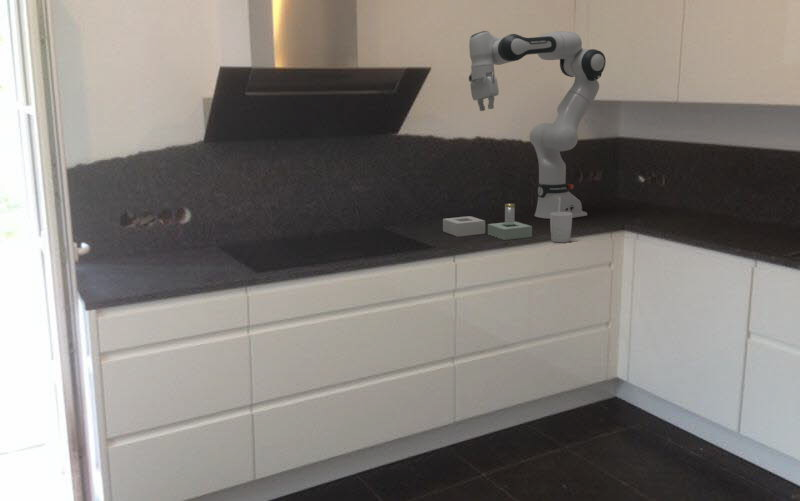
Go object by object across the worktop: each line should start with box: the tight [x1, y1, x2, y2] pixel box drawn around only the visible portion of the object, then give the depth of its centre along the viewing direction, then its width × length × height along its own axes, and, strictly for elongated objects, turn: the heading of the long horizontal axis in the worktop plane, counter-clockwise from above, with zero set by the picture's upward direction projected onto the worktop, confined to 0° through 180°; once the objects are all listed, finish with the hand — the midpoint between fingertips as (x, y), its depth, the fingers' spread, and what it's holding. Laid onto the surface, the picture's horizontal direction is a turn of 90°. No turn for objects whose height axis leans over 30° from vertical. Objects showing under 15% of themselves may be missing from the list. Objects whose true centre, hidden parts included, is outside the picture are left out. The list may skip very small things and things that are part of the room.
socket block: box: [487, 221, 533, 241], centre depth 280 cm, size 12×12×4 cm
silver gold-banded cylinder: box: [504, 202, 516, 227], centre depth 279 cm, size 4×4×12 cm
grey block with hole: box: [442, 215, 486, 238], centre depth 288 cm, size 12×12×5 cm
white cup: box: [549, 212, 573, 244], centre depth 268 cm, size 8×8×10 cm
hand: (486, 109), depth 294 cm, fingers open, 8 cm apart
